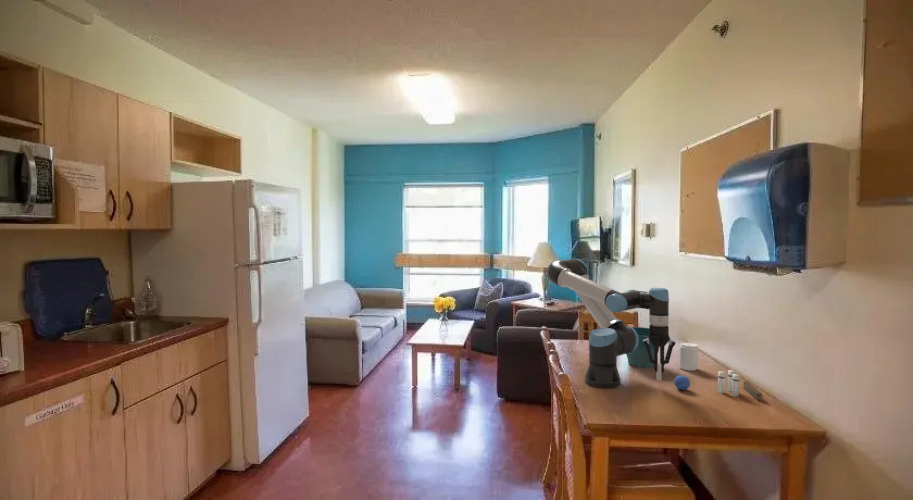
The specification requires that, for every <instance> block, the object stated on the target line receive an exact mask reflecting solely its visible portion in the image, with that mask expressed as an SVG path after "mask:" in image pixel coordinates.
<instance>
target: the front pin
mask: <svg viewBox="0 0 913 500" xmlns="http://www.w3.org/2000/svg"><path fill="white" fill-rule="evenodd" d="M717 373H718V375H717V393H719V394H725V389H726V388H725V386H726V384H725V383H726V372H725V371H723V370H721V371H717Z"/></svg>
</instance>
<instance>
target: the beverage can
mask: <svg viewBox="0 0 913 500" xmlns="http://www.w3.org/2000/svg"><path fill="white" fill-rule="evenodd" d="M678 352H679V353H678V354H679V355H678V367H679V368H680V369H681V370H684V371H689V372H690V371H691V372H693V371H696V370H698V369H699V346H698V344H696V343H693V342H688V341H687V342H686V341H685V342H684V341H683V342H680V344H679V349H678Z"/></svg>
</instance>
